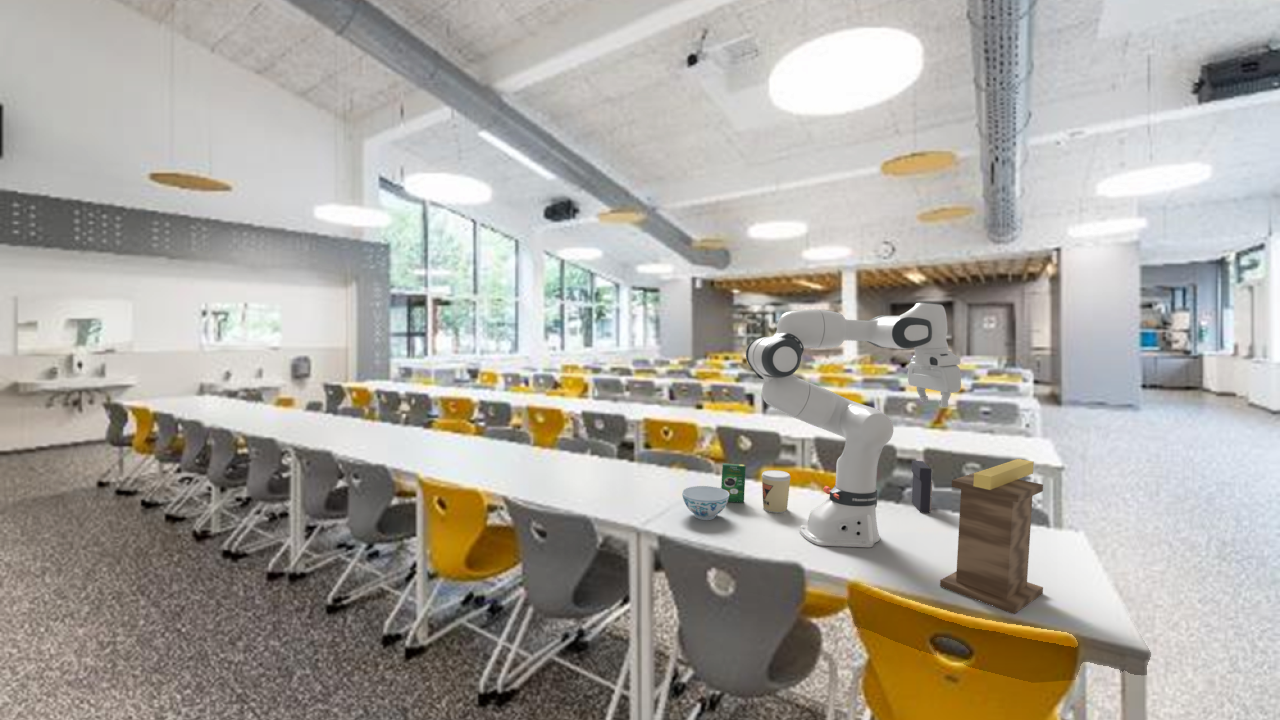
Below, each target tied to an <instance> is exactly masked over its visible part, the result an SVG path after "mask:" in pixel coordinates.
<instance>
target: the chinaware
mask: <svg viewBox="0 0 1280 720" xmlns="http://www.w3.org/2000/svg"><path fill="white" fill-rule="evenodd" d="M681 495H682V499H683V502H684V505H685V506H686V508H687V509H688V510H689V511H690V512H691V513H693V514H694V517H695V518H696V519H698V520H703V521H704V520H705V521H709V520H715V518H716V517H717V515H719V514H720V513H721V512H723V510H724V509H725V508H726V506H727V504H728V503H729V502H728V499H729V492H728V491H726V490H724V489H721V487H717V486H712V485H711V486H709V485H697V486H696V485H695V486H689V487H686V488H684V489H683V490H682V491H681Z"/></svg>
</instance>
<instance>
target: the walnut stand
mask: <svg viewBox="0 0 1280 720" xmlns="http://www.w3.org/2000/svg"><path fill="white" fill-rule="evenodd" d="M979 471H980V470H979ZM979 471H975V472H972V473H969V474H966V475H964V476H960V477H957V478H954V479H952V480H951V487H952V488H955V489H958V490H960V500H959V501H960V502H959V503H960V504H959V519H958V520H959V522H958V536H957V538H958V539H957V554H956V555H957V557H956V571H954V572H952V573H950V574H948V575H947V576H945V577H942V578H941V579H940V581H939V582H940V583H939V586H941V588H943V587H944V589H946V588H947V589H946V590H948V589H949V591H951V590H952V591H951V592H954V593H956V592H957V594H959V593H960V595H962V596H964V595H965V597H968V598H969V599H972V598H973V600H975V599H976V601H978V600H980V601H982V602H981V603H983V602H984V603H983V604H986V603H987V604H986V605H989V604H990V605H989V606H991V605H993V606H992V607H994V606H995V607H994V608H996V609H999V608H1000V610H1002V611H1004V612H1007V611H1008V613H1010V614H1013V615H1015V614H1017V613H1018V612H1019V611H1021V610H1022V609H1023V608H1025V607H1026V606H1028V605H1029V604H1031V603H1032V602H1033V601H1034V600H1036V599H1037V598H1039V597H1041V596H1042V595H1043V593H1044V587H1043V586H1040V585H1038V584H1035V583H1032V582H1028V575H1029V574H1028V573H1029V571H1028V570H1029V557H1030V555H1029V554H1030V544H1031V543H1030V541H1031V540H1030V539H1031V526H1032V525H1031V524H1032V510H1033V509H1032V508H1033V496H1035V495H1037V494H1040V493H1042V492H1043V491H1044V484H1041V483H1037V482H1033V481H1029V480H1022V479H1017V480H1015V481H1012V482H1010V483H1007V484H1004V485H1002V486H999V487H996V488H994V489H991V490H988V489H984V488H979V487H975V486H973V485H974V473H976V472H979ZM980 601H979V602H980Z"/></svg>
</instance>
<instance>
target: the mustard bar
mask: <svg viewBox="0 0 1280 720" xmlns="http://www.w3.org/2000/svg"><path fill="white" fill-rule="evenodd" d="M975 472H976V473H975ZM975 472H973V473H974V485H973V486H975V487H979V488H984V489H988V490H991V489H994V488H996V487H999V486H1002V485H1004V484H1007V483H1010V482H1012V481H1015V480H1017V479H1019V480H1021V479H1023V478H1025V477H1028V476H1031V475H1033V474H1034V461H1032V460H1026V459H1020V458H1016V459H1012V460H1010V461H1007V462H1004V463H1002V464H998V465H995V466H992V467H989V468H986V469H983V470H979V472H978V471H975Z"/></svg>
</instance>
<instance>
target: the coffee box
mask: <svg viewBox="0 0 1280 720" xmlns="http://www.w3.org/2000/svg"><path fill="white" fill-rule="evenodd" d="M721 467H722V468H721V486H720V488H721V489H724V490H726V491H728V492H729V499H728V502H727V503H739V504H742V503H745V485H746V469H747V467H746V464H741V463H740V464H739V463H722V466H721Z"/></svg>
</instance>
